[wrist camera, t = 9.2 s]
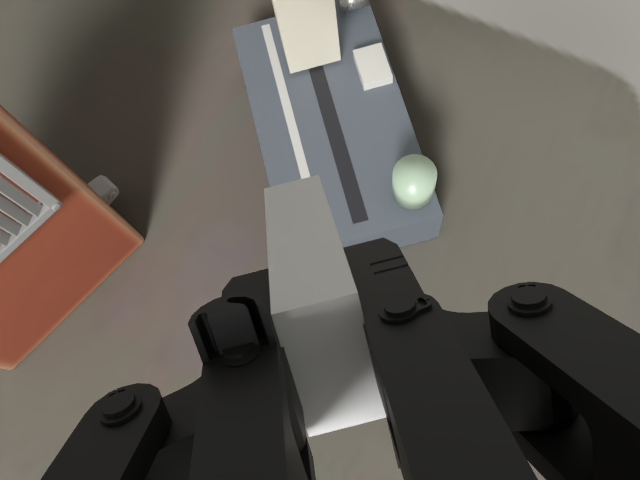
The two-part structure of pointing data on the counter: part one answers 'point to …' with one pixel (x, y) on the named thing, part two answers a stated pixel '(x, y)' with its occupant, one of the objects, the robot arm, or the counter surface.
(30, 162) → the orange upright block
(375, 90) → the switch console
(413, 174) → the push button
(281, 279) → the robot arm
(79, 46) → the counter surface
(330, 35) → the cream rectangular block
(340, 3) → the toggle lever
